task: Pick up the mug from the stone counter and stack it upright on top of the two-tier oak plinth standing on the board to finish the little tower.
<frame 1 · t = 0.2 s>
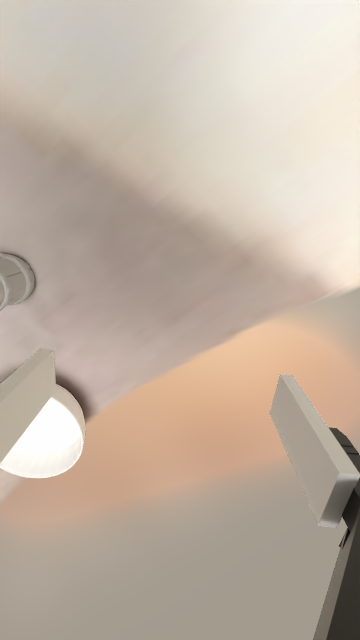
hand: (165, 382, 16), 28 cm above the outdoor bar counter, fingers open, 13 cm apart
mug: (4, 265, 42), on the outdoor bar counter
bowl: (48, 406, 51), on the outdoor bar counter
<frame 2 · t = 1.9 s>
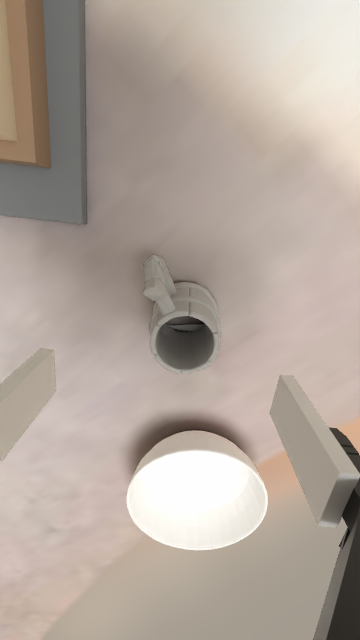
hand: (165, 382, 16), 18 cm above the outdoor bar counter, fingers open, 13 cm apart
mug: (178, 294, 34), on the outdoor bar counter
bowl: (195, 457, 43), on the outdoor bar counter
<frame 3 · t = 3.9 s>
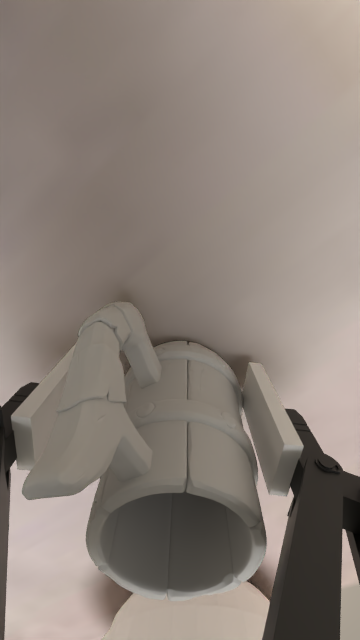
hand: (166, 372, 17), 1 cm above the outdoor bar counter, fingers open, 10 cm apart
mug: (167, 361, 18), on the outdoor bar counter, touching gripper
bowl: (197, 594, 27), on the outdoor bar counter
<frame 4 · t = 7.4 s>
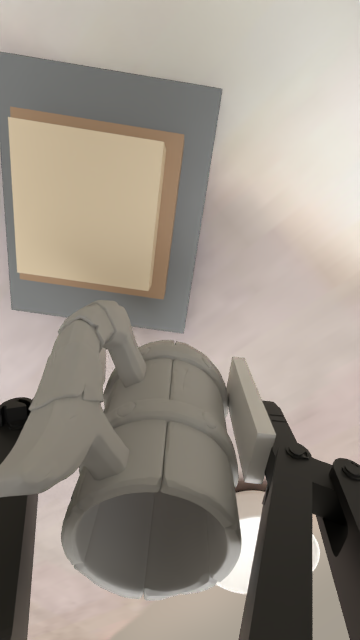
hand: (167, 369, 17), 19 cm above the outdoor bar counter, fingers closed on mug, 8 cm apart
mug: (154, 361, 18), point 18 cm above the outdoor bar counter, touching gripper
bowl: (248, 510, 49), on the outdoor bar counter
plinth board: (106, 214, 32), on the outdoor bar counter
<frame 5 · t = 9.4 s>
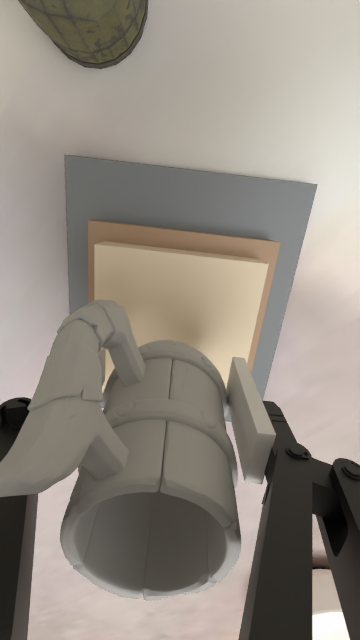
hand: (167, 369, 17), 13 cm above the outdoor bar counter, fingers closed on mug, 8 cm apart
mug: (154, 360, 18), point 12 cm above the outdoor bar counter, touching gripper
bowl: (311, 583, 46), on the outdoor bar counter
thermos: (94, 2, 22), on the outdoor bar counter
plinth board: (176, 307, 30), on the outdoor bar counter
when the fingers open (10 cm above the outdoor bar counter, at t = 10.8 s): mug drops 1 cm, resting on plinth board.
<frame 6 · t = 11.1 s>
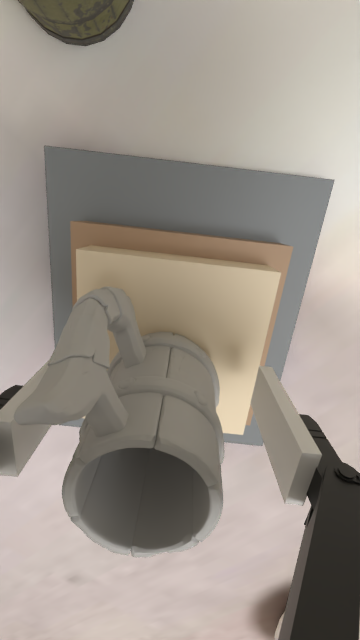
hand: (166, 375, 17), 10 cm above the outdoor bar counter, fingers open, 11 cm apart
mug: (153, 351, 20), point 7 cm above the outdoor bar counter, touching plinth board
plinth board: (174, 317, 27), on the outdoor bar counter
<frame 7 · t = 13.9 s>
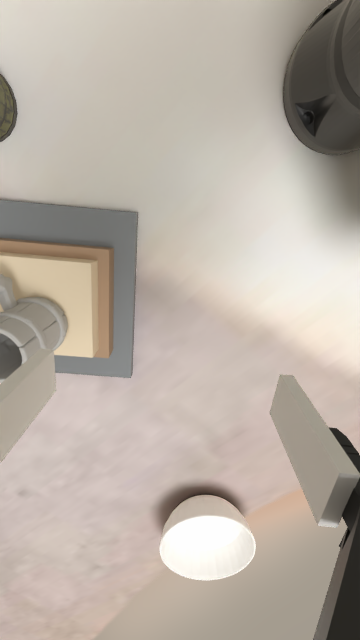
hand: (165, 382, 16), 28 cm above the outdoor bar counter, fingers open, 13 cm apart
mug: (33, 308, 36), point 7 cm above the outdoor bar counter, touching plinth board
bowl: (204, 511, 59), on the outdoor bar counter
plinth board: (64, 295, 43), on the outdoor bar counter
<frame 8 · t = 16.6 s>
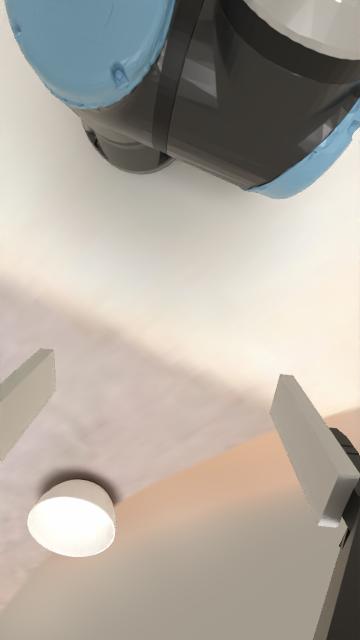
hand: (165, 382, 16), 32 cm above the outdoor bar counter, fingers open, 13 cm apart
bowl: (83, 495, 64), on the outdoor bar counter
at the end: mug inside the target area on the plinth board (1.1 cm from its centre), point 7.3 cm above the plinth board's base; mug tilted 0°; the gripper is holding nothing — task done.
